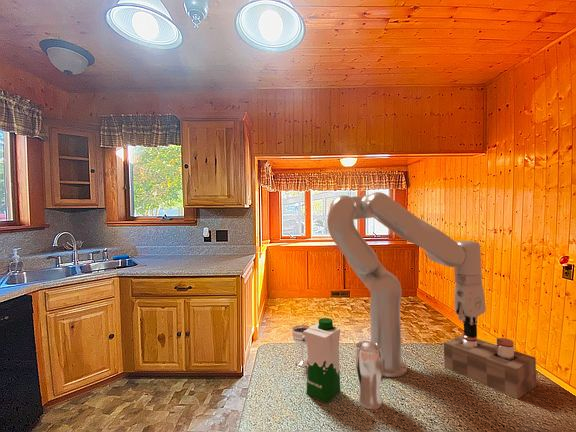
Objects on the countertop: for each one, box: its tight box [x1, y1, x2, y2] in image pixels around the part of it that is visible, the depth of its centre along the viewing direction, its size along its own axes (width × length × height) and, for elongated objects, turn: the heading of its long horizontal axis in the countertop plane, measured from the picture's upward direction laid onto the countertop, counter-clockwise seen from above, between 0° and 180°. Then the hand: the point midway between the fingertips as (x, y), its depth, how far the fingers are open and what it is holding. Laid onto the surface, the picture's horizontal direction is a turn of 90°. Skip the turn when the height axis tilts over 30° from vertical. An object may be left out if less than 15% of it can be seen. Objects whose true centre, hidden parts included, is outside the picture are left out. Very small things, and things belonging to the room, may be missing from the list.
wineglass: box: [291, 324, 310, 366], centre depth 99 cm, size 7×7×12 cm
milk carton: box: [303, 317, 341, 404], centre depth 82 cm, size 9×9×20 cm
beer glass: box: [354, 340, 383, 410], centre depth 77 cm, size 7×7×15 cm
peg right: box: [496, 337, 515, 361], centre depth 84 cm, size 4×4×8 cm
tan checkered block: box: [443, 335, 537, 400], centre depth 89 cm, size 12×20×8 cm, turn 30°
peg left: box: [461, 333, 478, 348], centre depth 93 cm, size 4×4×8 cm
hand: (470, 335), depth 93 cm, fingers closed
